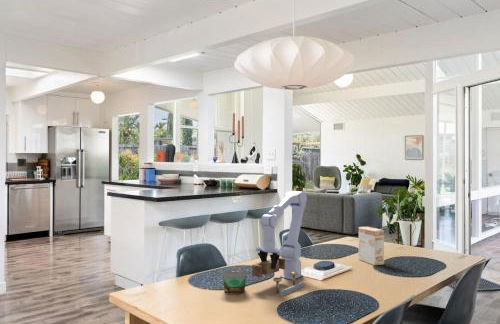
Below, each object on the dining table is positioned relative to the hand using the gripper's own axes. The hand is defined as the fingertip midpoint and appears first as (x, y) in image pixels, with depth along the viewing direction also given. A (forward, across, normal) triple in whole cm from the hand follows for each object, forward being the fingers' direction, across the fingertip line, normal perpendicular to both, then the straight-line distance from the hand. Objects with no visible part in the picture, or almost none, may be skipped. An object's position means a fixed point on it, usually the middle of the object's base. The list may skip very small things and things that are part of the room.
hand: (269, 267), depth 206 cm
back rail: (+8, +14, 0) cm, 16 cm away
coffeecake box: (+9, +18, +72) cm, 75 cm away
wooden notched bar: (+2, 0, 0) cm, 2 cm away
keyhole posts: (+8, +10, 0) cm, 13 cm away
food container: (+9, -5, -18) cm, 21 cm away
